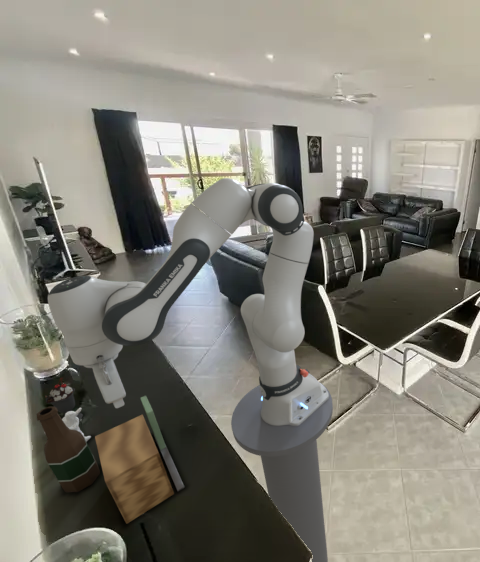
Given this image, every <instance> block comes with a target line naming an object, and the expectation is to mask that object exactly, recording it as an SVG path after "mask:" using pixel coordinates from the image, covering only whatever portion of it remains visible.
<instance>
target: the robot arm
mask: <svg viewBox="0 0 480 562" xmlns="http://www.w3.org/2000/svg"><path fill="white" fill-rule="evenodd" d="M250 220H254V221H256V222H258V223H260V224H261V225H263V226H265V227H269V228H271V231H272V243H271V245H270V249H269V251H268V256H267V260H266V263H265V267H264V270H263V273H262V274H263V275H262V285H263V290H264V291H263V292H264V294H262V293H254V294H251V295H249V296H248V297H246V298H245V299H244V300H243V302H242V303H241V306H240V315H241V318H242V320H243V322H244V326H245V328H246V331H247V335H248V339H249V341H250V344H251V347H252V349H253V353H254V354H255V358H256V362H257V368H258V373H259V374H258V375H259V377H258V383H259V385H260V391H261V394H262V398H261V400H262V409H261V417H262V419H263V420H264V421H265V422H266V423H268V424H270V425H274V426H283V425H292V426H298V425H300V424H301V423H302V422H303V421H304V420H306V419H307V418H308V417H309V416H310V415H311V414H312V413H313V412H314V411H316V410H317V409H318V408H319V407H320V406H321V405H322V404H323V403H324V402H325V401H327V400H328V398H329V394H328V391H329V390H328V391H327V389H328V388H327V387H326V386H325V385H324V384H323V383H321V382H320V381H319V380H318V379H317V378H316V377H315V376H314V375H312V374H311V373H310V371H309V369H308V368H303V369H302V367H301V366H300V365H298V364H297V362H296V361H297V360H296V353H295V349H297V348H298V347H299V346H300V345H301V343H302V342H303V340H304V338H305V332H306V331H305V326H304V324H303V320H302V308H301V307H302V289H303V286H304V285H303V284H304V281H305V276H306V274H307V270H308V267H309V264H310V259H311V255H312V250H313V245H314V236H315V233H314V229H313V227H312V225H311V224H310V223H309V222H307V221H306V220H305V216H304V209H303V203H302V200H301V198H300V196H299V194H298V193H297V191H296V192H295V190H294V189H292V188H290V187H289V186H287V185H284V184H279V183H275V182H267V183H258V184H254V185H251V186H247V187H246V186H244V184H242V183H241V182H239V181H238V180H235V179H233V178H229V177H224V178H220V179H218V180H217V181H216V182H214V183H213V184H210V186H209V187H206V189H205V190H204V191H202V192H201V193H200V194H199V195H198V196H197V197H195V198H194V200H192V202H191V203H190V204H189V205H187V206H186V208H185V209H184V210H183V212H182V213H181V214H180V216H179V217H178V218H177V220H176V222H175V224H174V226H173V230H172V231H173V232H172V241H171V246H170V251H169V253H168V255H167V257H166V259H165V260H164V262H163V264H162V265H161V266H160V267H159V268H158V269H157V271H156V272H155V273H154V274H153V276H151V278H150V279H148V281H147V282H144V281H140V280H128V281H116V280H115V281H114V280H106V279H100V278H97V277H94V276H91V275H77V276H74V277H71V278H68V279H65V280H62V281H61V282H59V283H57V284H55V285H54V286H53V287H52V288H51V289H50V291H49V292H48V293H47V303H48V307H49V310H50V314H51V316H52V319H53V322H54V323H55V326H56V328H57V329H58V330H59V331H60V332H61V333H62V335H63V338H64V339H63V343H64V345H65V347H66V349H67V352H68V354H69V356H70V358H71V361H72V363H73V364H75V365H77V366H83V367H84V368H87V369H92V373H93V375H94V379H95V380H96V384H97V387H98V389H99V391H100V393H101V396H102V399H103V400H104V402H105V403H106V404H107V405H109V404H112V405H113V406H114V409H119V408H121V407H124V406H125V401H124V398H126V396H127V392H126V390H125V387H124V384H123V382H122V379H121V376H120V373H119V372H118V369H117V366H116V363H115V360H117V358H118V357H119V353H120V352H121V351H122V350H123V347H125V346H127V347H133V346H140V345H144V344H147V343H149V342H151V341H153V340H154V339H156V338H157V337H158V336H159V335H160V333H161V332H162V331H163V328H164V325H165V324H166V323H165V321H166V319H167V316H168V313H169V311H170V310H171V308H172V306H173V305H174V304H175V303H176V301H178V299H179V298H180V296H182V294H183V293H184V291H185V290H186V289H187V287H188V286H189V285H190V284H191V283H192V281H193V280H194V279H195V278H196V276H197V275H198V274H199V272H200V271H201V270H202V268H203V267H204V266H205V265H206V264H207V263H208V262H209V260H210V259H211V258H212V257H213V255H214V254H215V253H217V251H219V249H221V247H222V246H223V245H224V244H225V243H226V242H227V241H228V240H229V239H230V237H232V235H233V234H235V232H236V231H237V230H238V228H239V227H240V226H242V224H244V223H245V222H247V221H250ZM322 384H323V385H324V386H325V387H326V388H327V389H326V388H325V387H324V386H323V385H322ZM299 419H300V420H299Z"/></svg>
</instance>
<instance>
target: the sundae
mask: <svg viewBox="0 0 480 562" xmlns="http://www.w3.org/2000/svg"><path fill="white" fill-rule="evenodd" d="M63 379H64V377H60V378H59V381H58V383H57V384H55V385H54V387H53V388H52V389H50V392H49V395H44V397H45V403H46V404H51V405H52V407H56V408H57V410H58V413H60V414H66V413H67V412H69V411H73V410H74V408H75V407H76V400H75V396H74V393H75V391H76V388H74V387H71V386H68V385H67V384H66V383H63ZM60 382H61V385H60ZM76 417H78V419H79V421H80V420H81V419H82V418H83V417H84V414H83V413H82V412H79V413H78V415H77V416H76Z"/></svg>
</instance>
